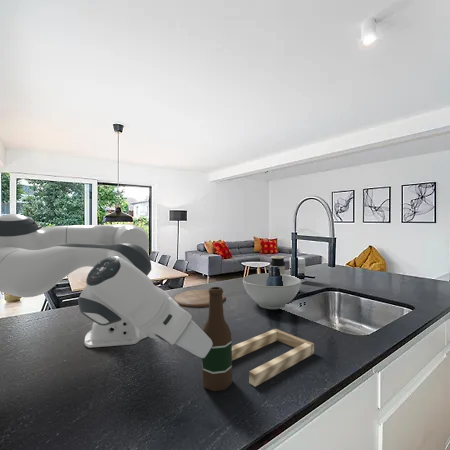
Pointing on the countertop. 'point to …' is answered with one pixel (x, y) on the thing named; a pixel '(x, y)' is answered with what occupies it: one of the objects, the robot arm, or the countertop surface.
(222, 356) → the beer bottle
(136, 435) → the countertop surface
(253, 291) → the decorative bowl
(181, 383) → the countertop surface
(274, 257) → the travel mug
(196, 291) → the trivet
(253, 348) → the u rest
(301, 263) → the supplement tub
